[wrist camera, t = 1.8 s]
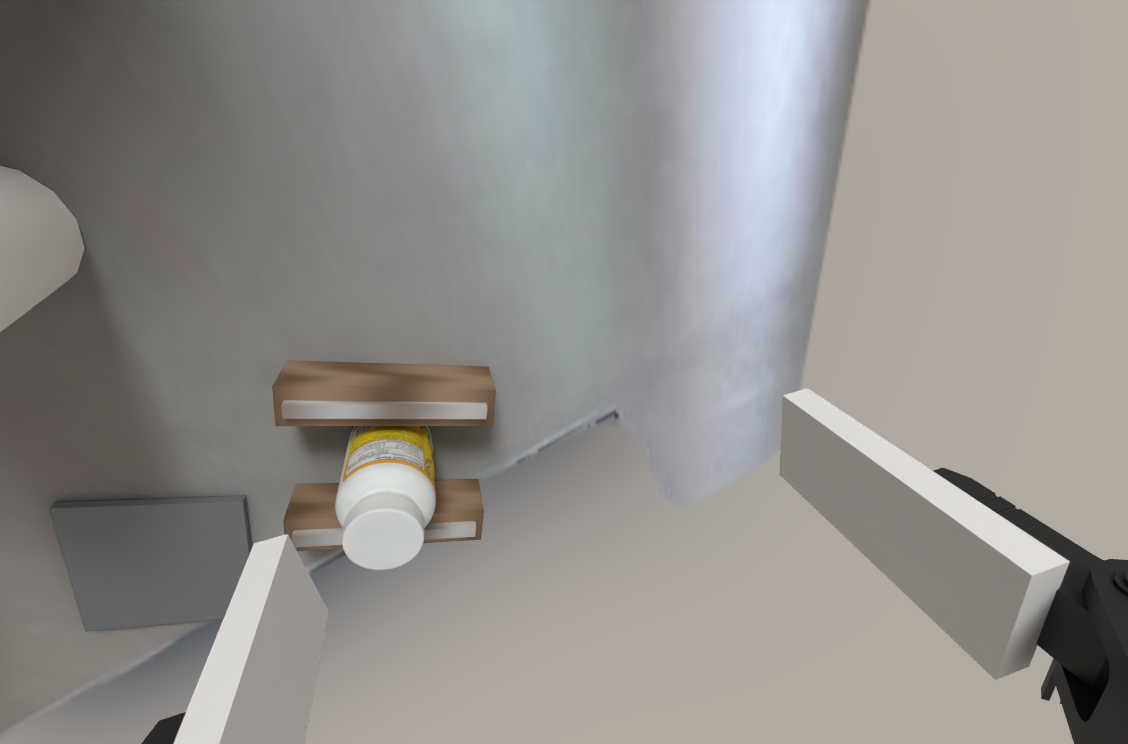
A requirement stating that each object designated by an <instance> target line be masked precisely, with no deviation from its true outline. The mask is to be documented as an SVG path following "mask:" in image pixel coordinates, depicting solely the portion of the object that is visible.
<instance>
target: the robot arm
mask: <svg viewBox="0 0 1128 744" xmlns="http://www.w3.org/2000/svg"><path fill="white" fill-rule="evenodd" d="M780 476H782V477H783V478H784V479H785V480H786V481H787V482H788V483H789V484H790V485H791V486H792V487H793V488H794V489H795V490H796V491H797V492H798V493H800V495H802V497H804V498H805V499H806V500H807V501H808V502H809V503H810V504H811V505H812V506H813V507H814V508H815V509H816V510H817V511H819V513H820V514H821V515H822V516H824V517H825V518H826V519H827V520H828V521H829V522H830V523H831V524H832V525H833V526H834V527H835V528H836V529H837V530H838V531H839V532H840V533H841V534H843V535H844V536H845V537H846V538H847V539H848V540H849V541H850V542H851V543H852V544H853V545H854V546H855V547H856V548H857V549H858V550H859V551H860V552H861V553H862V554H864V555H865V556H866V557H867V558H868V559H869V560H870V561H871V562H872V563H873V564H874V565H875V566H876V567H877V568H878V569H879V570H880V571H881V572H883V573H884V574H885V575H886V576H887V577H888V578H889V579H890V580H891V581H892V582H893V583H894V584H895V585H896V586H897V587H898V588H899V589H900V590H901V591H903V592H904V593H905V594H906V595H907V596H908V597H909V598H910V599H911V600H912V601H913V602H914V603H915V604H916V605H917V606H918V607H919V608H920V609H921V610H922V611H923V612H925V613H926V614H927V615H928V616H929V617H930V618H931V619H932V620H933V621H934V622H935V623H936V624H937V625H938V626H939V627H940V628H941V629H942V630H943V631H945V632H946V633H947V634H948V635H949V636H950V637H951V638H952V639H953V640H954V641H955V642H956V643H957V644H958V645H959V646H961V648H962V649H963V650H964V651H966V652H967V653H968V654H969V655H970V656H971V657H972V658H973V659H974V660H975V661H976V662H977V663H978V664H979V665H980V666H981V667H982V668H983V669H984V670H986V671H987V672H988V673H989V674H990V675H991V676H992V677H993V678H994V679H995V680H996V679H999V678H1001V677H1004V676H1006V675H1009V674H1011V673H1014V672H1016V671H1019V670H1021V669H1024V668H1026V667H1029V665H1030V663H1031V660H1032V657H1033V655H1034V652H1035V650H1036V647H1037V645H1038V646H1040V647H1041V648H1042V649H1043V650H1044V651H1046V652H1047V653H1048V654H1049V655H1050V656H1052V657H1053V658H1054V659H1053V661H1052V664H1051V666H1050V668H1049V671H1048V673H1047V676H1046V678H1045V680H1044V683H1043V685H1042V687H1041V698H1042V699H1044V700H1048V701H1049V700H1050V698H1051V695H1052V693H1053V691H1054V689H1055V686H1056V687H1057V691H1058V693H1059V697H1060V700H1061V701H1060V704H1062V706H1063V709H1064V713H1065V716H1066V719H1067V722H1068V725H1069V729H1070V731H1071V734H1072V738H1073V741H1074V744H1128V560H1117V559H1109V560H1105V561H1104V560H1102V559H1100V558H1098V557H1096V556H1095V555H1093V554H1091V553H1090V552H1088V551H1087V550H1085V549H1083V548H1082V547H1080V546H1079V545H1077V544H1075V543H1074V542H1072V541H1071V540H1069V539H1067V538H1066V537H1064V536H1063V535H1061V534H1059V533H1058V532H1056V531H1054V530H1053V529H1051V528H1050V527H1048V526H1047V525H1045V524H1043V523H1042V522H1040V521H1039V520H1037V519H1035V518H1034V517H1032V516H1031V515H1029V514H1027V513H1026V512H1024V511H1022V510H1021V509H1016V508H1015V506H1014V505H1013V504H1012V503H1010V502H1008V501H1007V500H1005V499H1003V498H1002V497H997V496H996V495H995V493H994V492H992V491H991V490H989V489H988V488H986V487H984V486H983V485H981V484H980V483H978V482H976V481H975V480H973V479H972V478H969V477H966V476H964V475H961V474H959V473H956V472H953V471H951V470H948V469H945V468H940V469H937V470H934V471H932V470H930V469H929V468H927V467H926V466H924V465H923V464H921V463H920V462H918V461H917V460H915V459H913V458H912V457H910V456H909V455H907V454H906V453H904V452H903V451H901V450H900V449H898V448H897V447H895V446H894V445H892V444H891V443H889V442H887V441H886V440H885V439H883V438H882V437H880V436H879V435H877V434H876V433H874V432H873V431H871V430H870V429H868V428H867V427H865V426H864V425H862V424H861V423H859V422H858V421H856V420H854V419H853V418H851V417H850V416H848V415H847V414H845V413H844V412H842V411H841V410H839V409H838V408H836V407H835V406H833V405H832V404H830V403H829V402H827V401H826V400H824V399H823V398H821V397H820V396H818V395H817V394H815V393H814V392H812V391H811V390H809V389H804V390H800V391H797V392H793V393H790V394H786V395H783V405H782V430H781V455H780ZM328 615H329V612H328V610H327V608H326V606H325V604H324V602H323V600H322V598H321V596H320V595H319V593H318V591H317V589H316V587H315V585H314V583H313V581H312V579H311V577H310V575H309V573H308V572H307V570H306V568H305V566H304V564H303V562H302V560H301V558H300V556H299V554H298V552H297V550H296V549H295V547H294V545H293V543H292V541H291V539H290V537H289V535H288V534H286V535H282V536H279V537H275V538H272V539H268V540H265V541H261V542H257V543H254V545H253V547H252V550H251V552H250V555H249V557H248V560H247V562H246V565H245V567H244V569H243V572H242V574H241V577H240V579H239V582H238V584H237V587H236V589H235V592H234V594H233V597H232V599H231V602H230V604H229V607H228V609H227V612H226V614H225V617H224V619H223V622H222V624H221V627H220V629H219V632H218V634H217V637H216V639H215V642H214V644H213V647H212V649H211V652H210V654H209V657H208V659H207V661H206V664H205V667H204V669H203V671H202V674H201V677H200V679H199V681H198V684H197V686H196V689H195V691H194V694H193V696H192V699H191V701H190V704H189V706H188V709H187V711H186V712H185V713H181V714H178V715H175V716H172V717H169V718H166V719H163V720H160V721H159V722H158V723H157V724H156V725H155V727H154V728H153V730H152V731H151V732H150V733H149V735H148V736H147V737H146V739H145V740H144V741H143V743H142V744H304V743H305V738H306V731H307V727H308V722H309V716H310V711H311V705H312V700H313V695H314V690H315V684H316V679H317V674H318V668H319V663H320V657H321V652H322V647H323V642H324V636H325V631H326V626H327V621H328Z"/></svg>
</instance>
